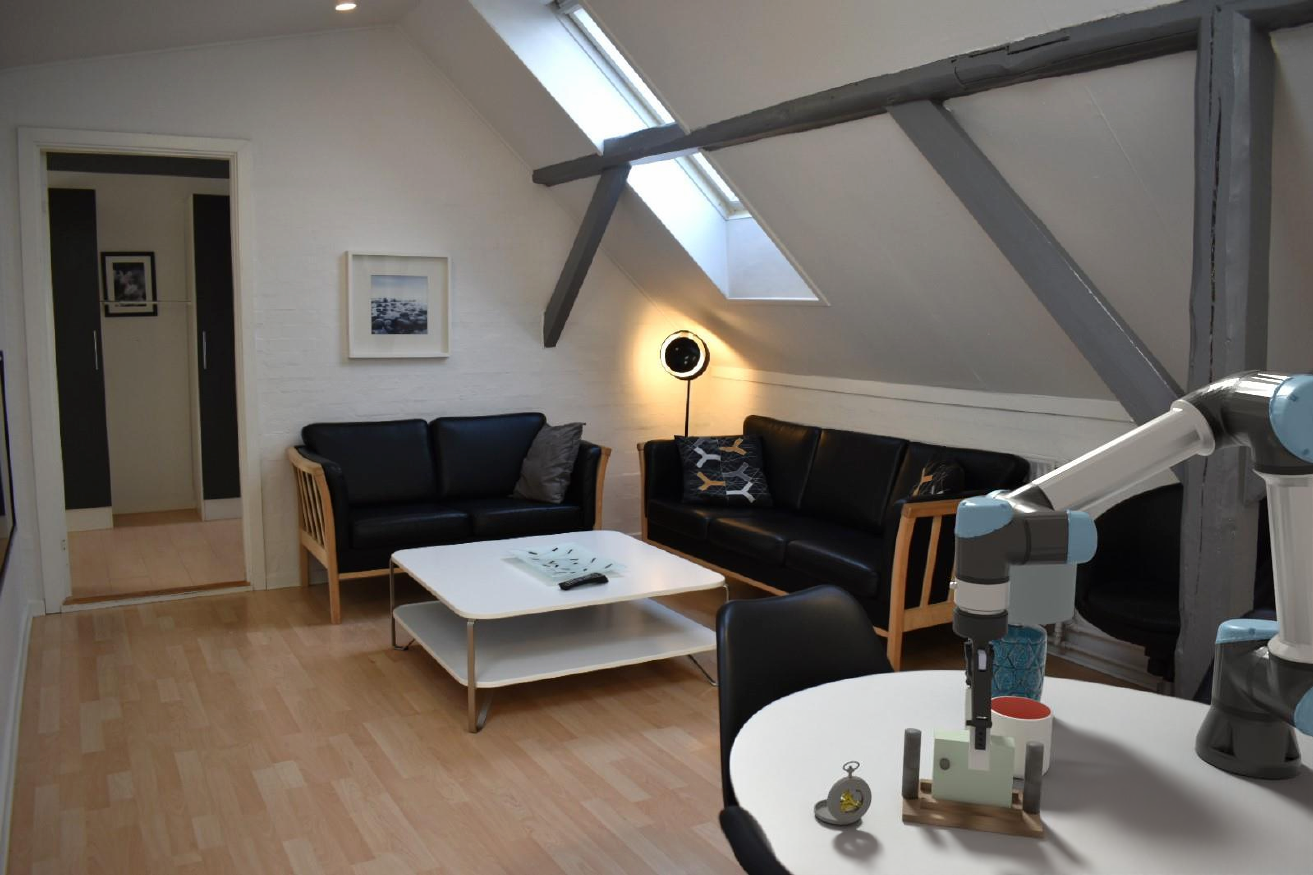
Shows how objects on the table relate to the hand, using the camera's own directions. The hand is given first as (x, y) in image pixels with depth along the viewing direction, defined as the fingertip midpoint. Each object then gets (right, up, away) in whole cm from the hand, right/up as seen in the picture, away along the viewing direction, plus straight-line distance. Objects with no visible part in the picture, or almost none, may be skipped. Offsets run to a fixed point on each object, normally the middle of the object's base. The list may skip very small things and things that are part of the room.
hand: (976, 748), depth 154 cm
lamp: (+18, -4, +40) cm, 44 cm away
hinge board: (-1, -9, +1) cm, 9 cm away
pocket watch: (-20, -10, -2) cm, 23 cm away
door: (-1, -8, +1) cm, 8 cm away
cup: (+11, -8, +15) cm, 20 cm away
